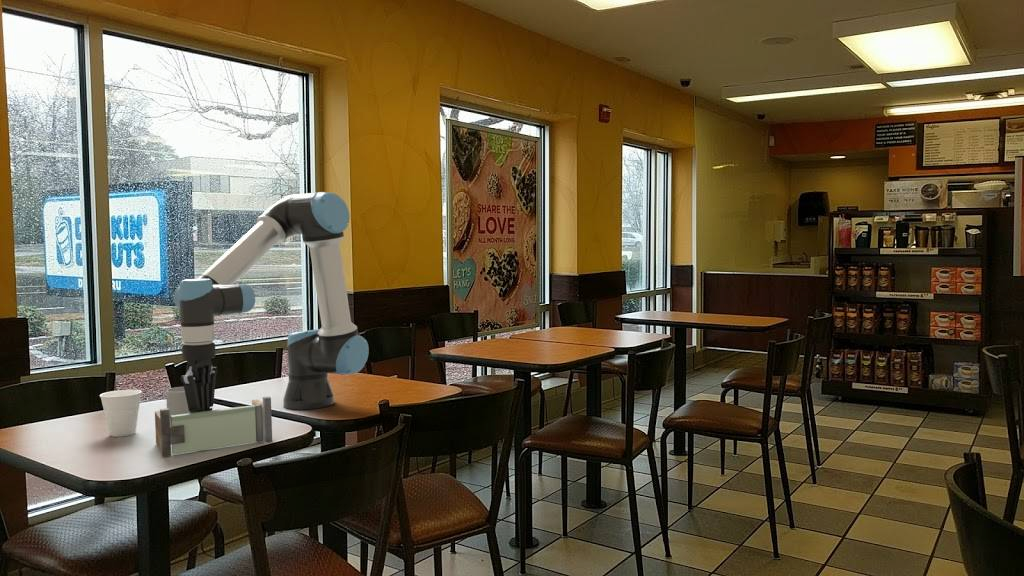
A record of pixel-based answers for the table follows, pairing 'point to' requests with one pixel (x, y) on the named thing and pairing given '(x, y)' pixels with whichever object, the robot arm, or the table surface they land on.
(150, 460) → the table surface
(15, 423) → the table surface
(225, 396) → the table surface
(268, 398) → the hinge post
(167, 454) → the post
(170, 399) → the mug
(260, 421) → the gate
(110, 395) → the cup
